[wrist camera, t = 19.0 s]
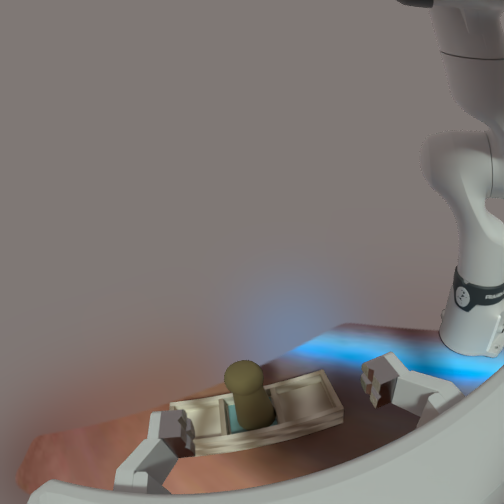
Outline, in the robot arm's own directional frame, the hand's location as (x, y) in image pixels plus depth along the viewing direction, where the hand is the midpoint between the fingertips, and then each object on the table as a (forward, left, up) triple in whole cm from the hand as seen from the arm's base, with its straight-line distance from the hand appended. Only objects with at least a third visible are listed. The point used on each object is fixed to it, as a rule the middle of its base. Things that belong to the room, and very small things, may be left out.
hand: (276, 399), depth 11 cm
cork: (+3, -19, -26) cm, 32 cm away
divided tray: (+3, -19, -28) cm, 34 cm away
